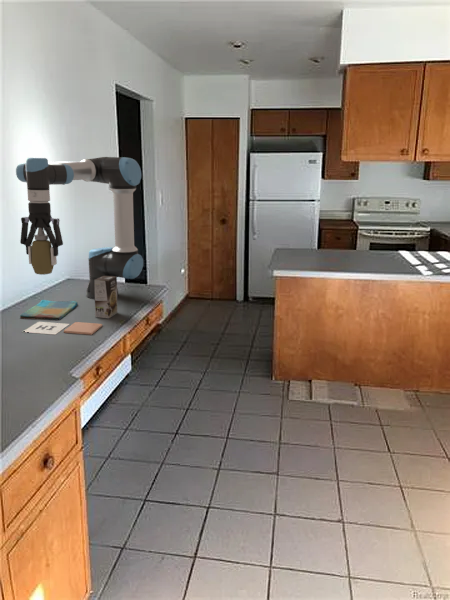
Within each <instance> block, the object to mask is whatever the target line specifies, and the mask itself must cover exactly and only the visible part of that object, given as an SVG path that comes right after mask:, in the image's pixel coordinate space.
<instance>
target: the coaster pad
mask: <svg viewBox="0 0 450 600" xmlns="http://www.w3.org/2000/svg"><path fill="white" fill-rule="evenodd" d="M102 327H103V323H96V322H95V323H92V322H81V321H80V322H79V321H75V322H74V323H72V324H71V325H68V326H67V327H66V328H64V329H63V333H66V334H79V335H93V334H95V333H96V332H97V331H98V330H99V329H101V328H102Z"/></svg>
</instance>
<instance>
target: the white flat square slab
mask: <svg viewBox="0 0 450 600" xmlns="http://www.w3.org/2000/svg"><path fill="white" fill-rule="evenodd" d="M69 326H70V323H64V322H63V323H62V322H61V323H60V322H58V323H57V322H49V321H37V322H35V323H34V324H32V325H31V326H29V327H28V328H26V329H24V330H23V331H25V332H24V333H27V332H29V333H30V334H31V333H32V334H41V335H54V336H55V335H57V334H58V333H59V332H61V331H62V330H65V329H66V328H68V327H69Z"/></svg>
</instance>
